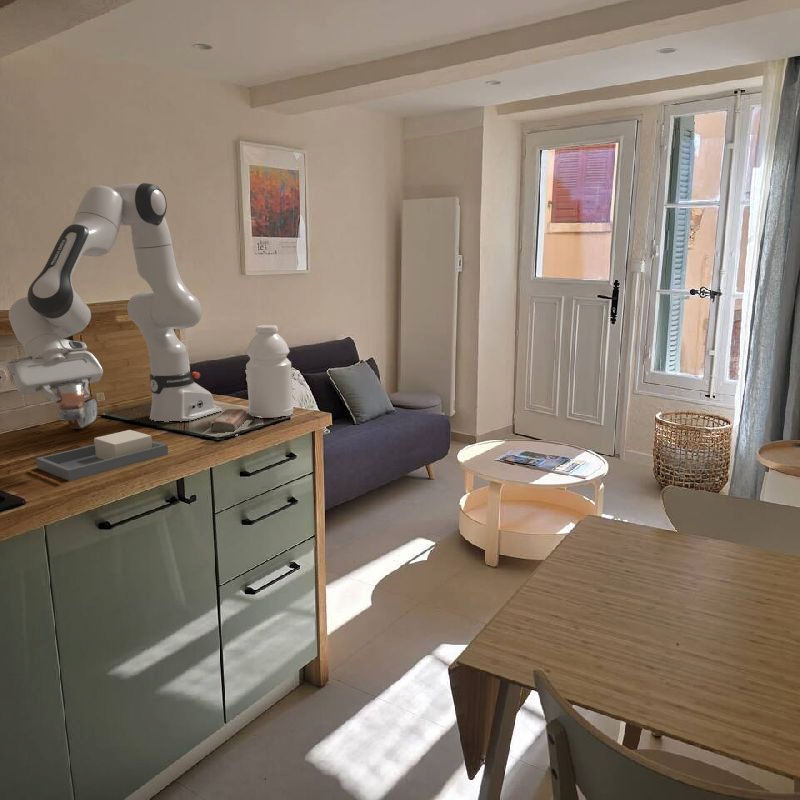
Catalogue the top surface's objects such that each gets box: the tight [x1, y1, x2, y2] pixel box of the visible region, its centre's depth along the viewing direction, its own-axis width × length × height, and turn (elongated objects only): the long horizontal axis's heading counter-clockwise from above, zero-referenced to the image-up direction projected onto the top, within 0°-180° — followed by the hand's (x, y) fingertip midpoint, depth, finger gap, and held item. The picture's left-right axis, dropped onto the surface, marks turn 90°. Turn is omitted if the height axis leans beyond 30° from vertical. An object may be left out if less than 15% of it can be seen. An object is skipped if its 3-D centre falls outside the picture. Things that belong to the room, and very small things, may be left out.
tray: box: [35, 440, 169, 482], centre depth 181 cm, size 26×16×3 cm, turn 141°
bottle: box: [245, 324, 294, 417], centre depth 226 cm, size 14×14×28 cm
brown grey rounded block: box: [67, 396, 99, 430], centre depth 217 cm, size 15×3×8 cm, turn 178°
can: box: [56, 383, 86, 421], centre depth 174 cm, size 6×6×8 cm
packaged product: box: [202, 408, 247, 437], centre depth 211 cm, size 18×5×10 cm
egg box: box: [93, 429, 153, 460], centre depth 185 cm, size 10×10×5 cm
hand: (72, 399), depth 173 cm, fingers closed on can, 6 cm apart
